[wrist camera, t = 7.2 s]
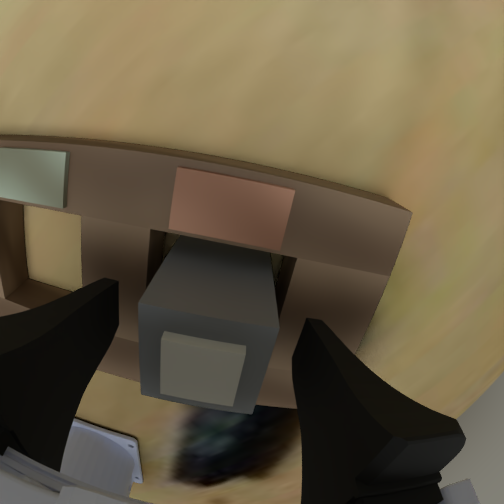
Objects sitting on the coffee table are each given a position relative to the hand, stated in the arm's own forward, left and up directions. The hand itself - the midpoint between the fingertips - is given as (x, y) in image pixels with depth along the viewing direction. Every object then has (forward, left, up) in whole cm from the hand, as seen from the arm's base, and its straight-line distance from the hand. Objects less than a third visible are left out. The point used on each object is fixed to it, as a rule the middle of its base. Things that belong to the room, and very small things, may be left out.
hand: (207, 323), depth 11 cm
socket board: (0, +4, -4) cm, 6 cm away
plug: (0, 0, -4) cm, 4 cm away
